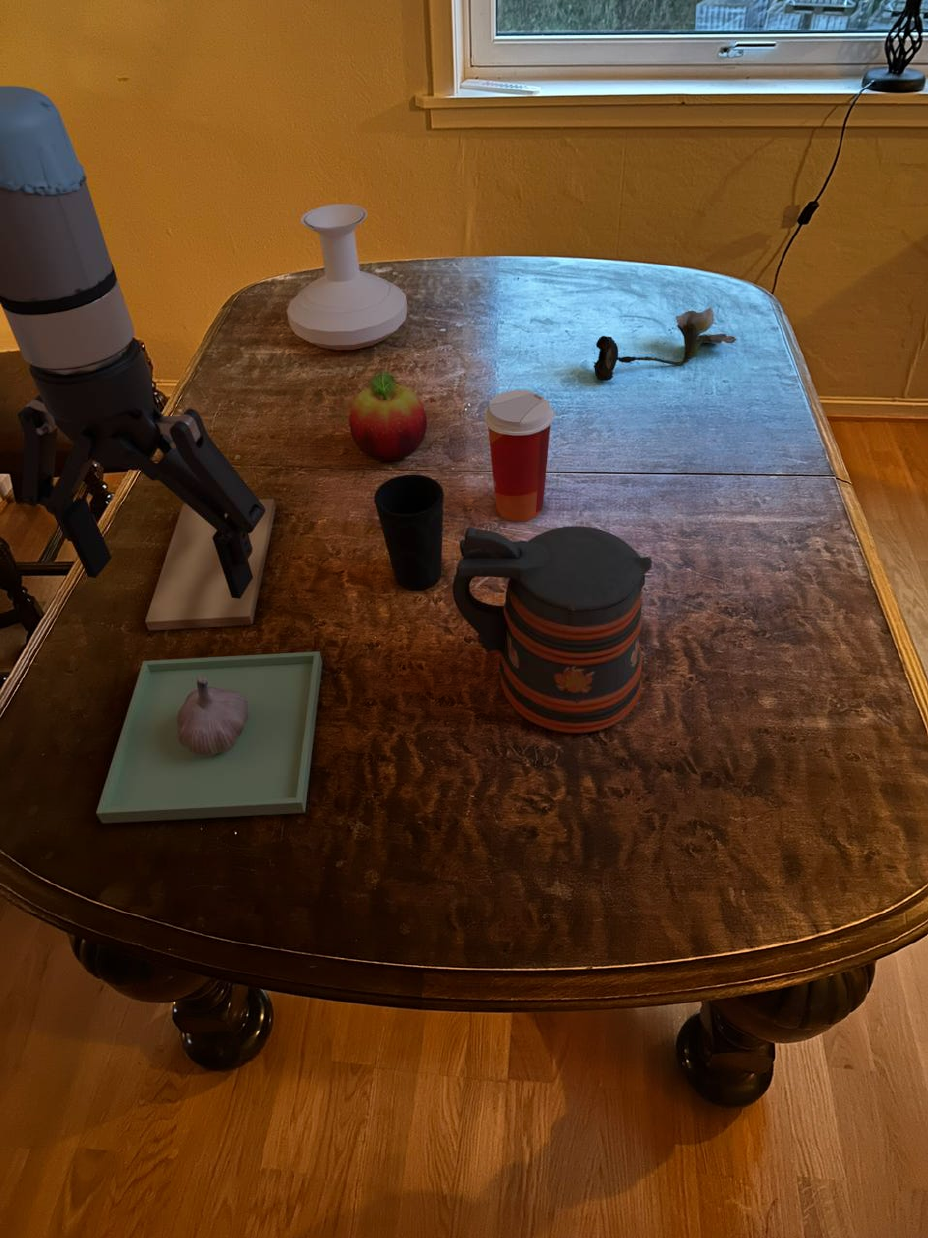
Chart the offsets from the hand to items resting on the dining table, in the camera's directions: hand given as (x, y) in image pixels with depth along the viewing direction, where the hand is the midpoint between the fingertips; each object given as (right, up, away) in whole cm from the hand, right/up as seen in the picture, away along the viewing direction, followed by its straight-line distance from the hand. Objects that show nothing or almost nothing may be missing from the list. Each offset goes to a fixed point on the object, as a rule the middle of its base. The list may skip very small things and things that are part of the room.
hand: (170, 577), depth 76 cm
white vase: (+6, +45, +75) cm, 88 cm away
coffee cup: (+32, +11, +38) cm, 51 cm away
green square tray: (0, -16, +14) cm, 21 cm away
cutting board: (-5, +3, +33) cm, 34 cm away
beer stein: (+34, -10, +17) cm, 40 cm away
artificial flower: (+56, +37, +63) cm, 92 cm away
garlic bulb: (0, -15, +14) cm, 21 cm away
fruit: (+15, +20, +49) cm, 55 cm away
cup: (+20, +2, +30) cm, 36 cm away
